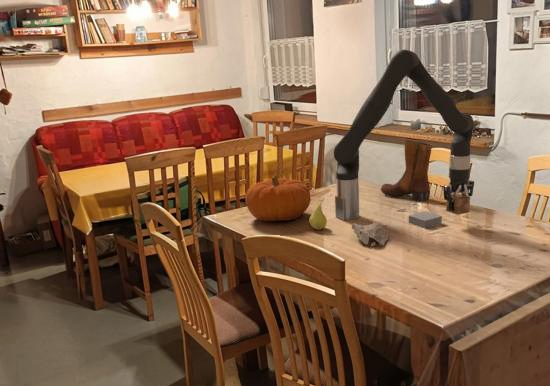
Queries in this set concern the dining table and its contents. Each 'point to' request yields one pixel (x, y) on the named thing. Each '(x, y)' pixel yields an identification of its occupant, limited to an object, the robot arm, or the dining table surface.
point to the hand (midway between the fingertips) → (457, 208)
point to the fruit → (318, 218)
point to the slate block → (425, 219)
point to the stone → (371, 233)
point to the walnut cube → (460, 204)
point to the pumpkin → (278, 199)
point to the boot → (413, 173)
